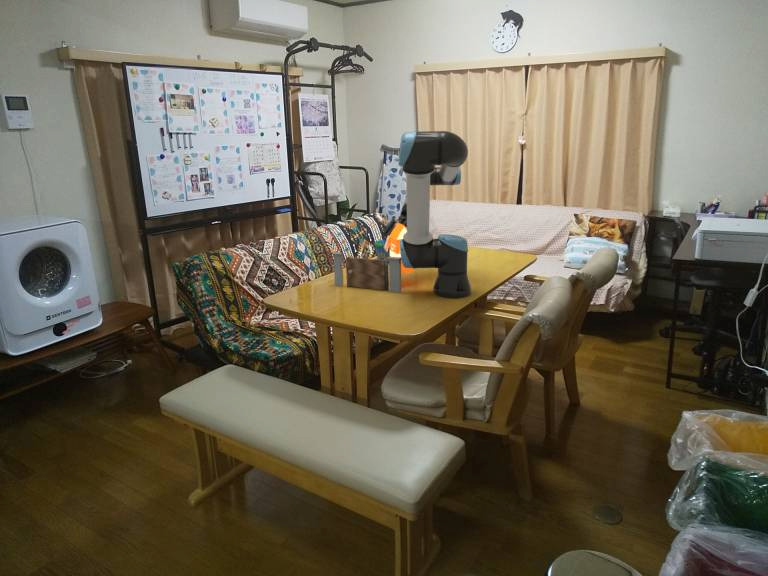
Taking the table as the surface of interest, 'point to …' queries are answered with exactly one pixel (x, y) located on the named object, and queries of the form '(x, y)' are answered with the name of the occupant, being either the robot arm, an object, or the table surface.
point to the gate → (367, 273)
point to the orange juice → (398, 244)
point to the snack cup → (381, 250)
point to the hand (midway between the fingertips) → (397, 250)
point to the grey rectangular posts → (393, 272)
